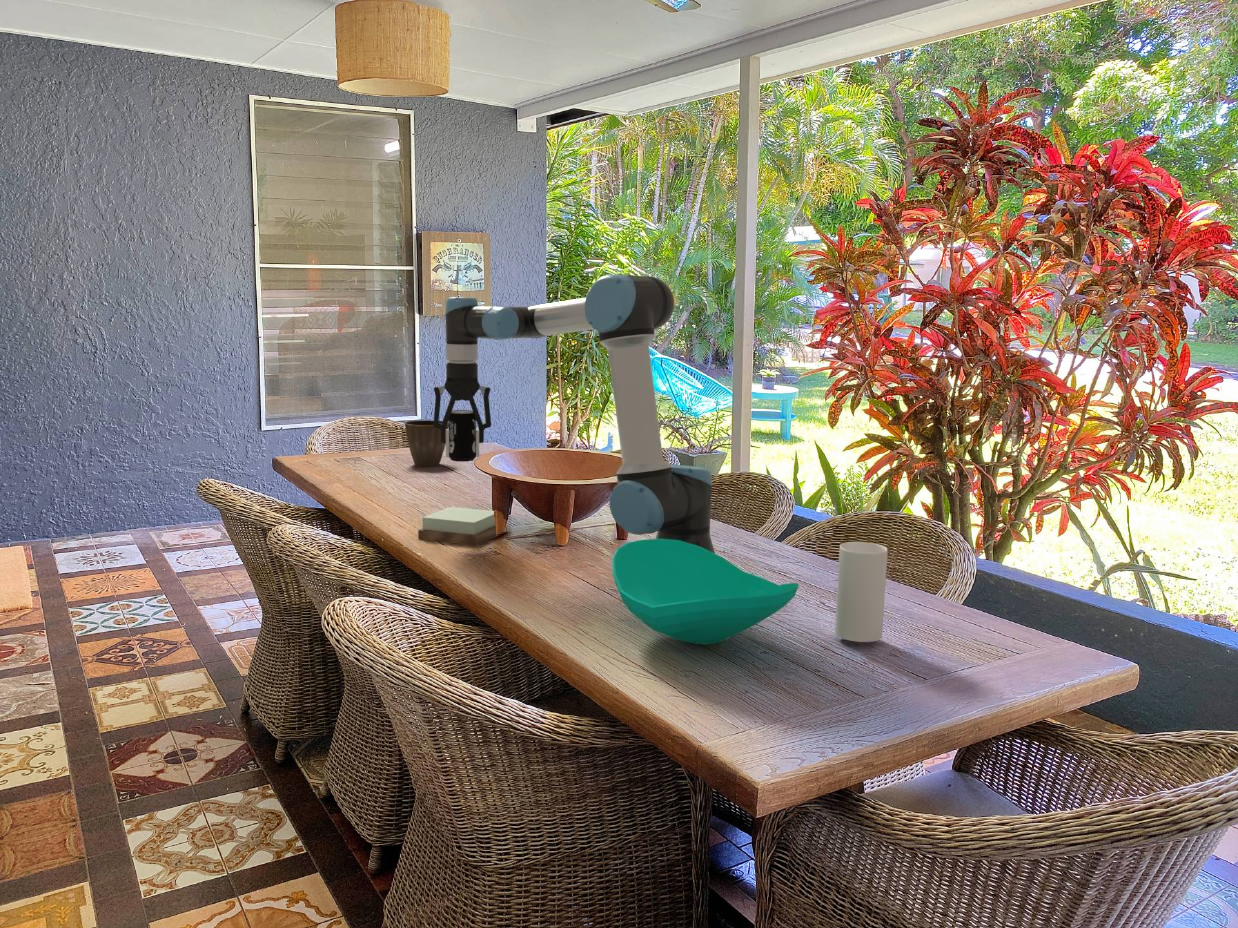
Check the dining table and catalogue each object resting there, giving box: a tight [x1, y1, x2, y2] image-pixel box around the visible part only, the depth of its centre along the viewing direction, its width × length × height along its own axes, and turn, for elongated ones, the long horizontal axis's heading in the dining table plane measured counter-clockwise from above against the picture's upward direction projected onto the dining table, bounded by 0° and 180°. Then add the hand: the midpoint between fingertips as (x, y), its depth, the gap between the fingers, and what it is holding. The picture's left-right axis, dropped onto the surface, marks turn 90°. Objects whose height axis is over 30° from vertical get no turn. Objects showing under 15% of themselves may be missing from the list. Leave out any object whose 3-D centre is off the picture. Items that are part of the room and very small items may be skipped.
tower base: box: [417, 526, 508, 547], centre depth 243 cm, size 16×16×3 cm
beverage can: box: [448, 409, 477, 463], centre depth 239 cm, size 7×7×12 cm
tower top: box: [422, 506, 495, 535], centre depth 243 cm, size 14×14×3 cm
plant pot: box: [404, 419, 449, 468], centre depth 338 cm, size 15×15×16 cm
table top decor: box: [611, 538, 799, 645], centre depth 171 cm, size 40×28×13 cm
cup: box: [834, 541, 888, 643], centre depth 174 cm, size 8×8×16 cm
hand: (462, 456), depth 240 cm, fingers closed on beverage can, 6 cm apart
